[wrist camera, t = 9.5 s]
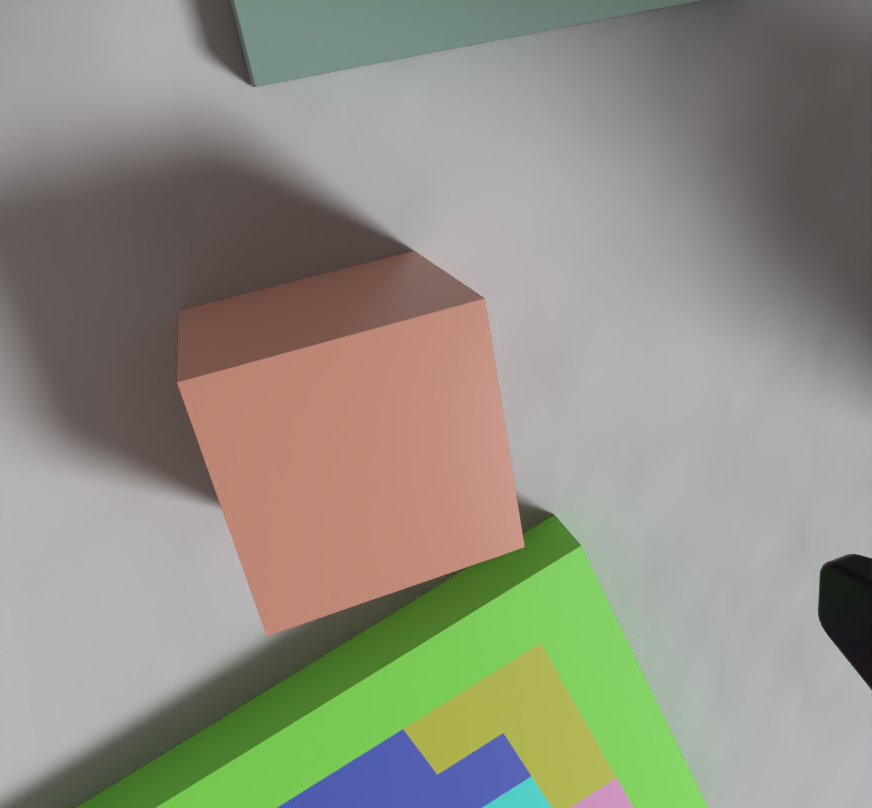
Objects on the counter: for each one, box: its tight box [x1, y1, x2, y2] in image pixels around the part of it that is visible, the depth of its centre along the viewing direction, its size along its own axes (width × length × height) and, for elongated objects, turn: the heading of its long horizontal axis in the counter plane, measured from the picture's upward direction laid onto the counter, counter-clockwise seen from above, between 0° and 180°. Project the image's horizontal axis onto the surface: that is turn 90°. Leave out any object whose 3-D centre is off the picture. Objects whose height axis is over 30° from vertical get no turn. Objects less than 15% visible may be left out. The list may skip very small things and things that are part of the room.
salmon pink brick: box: [177, 251, 525, 636], centre depth 17 cm, size 6×6×5 cm
